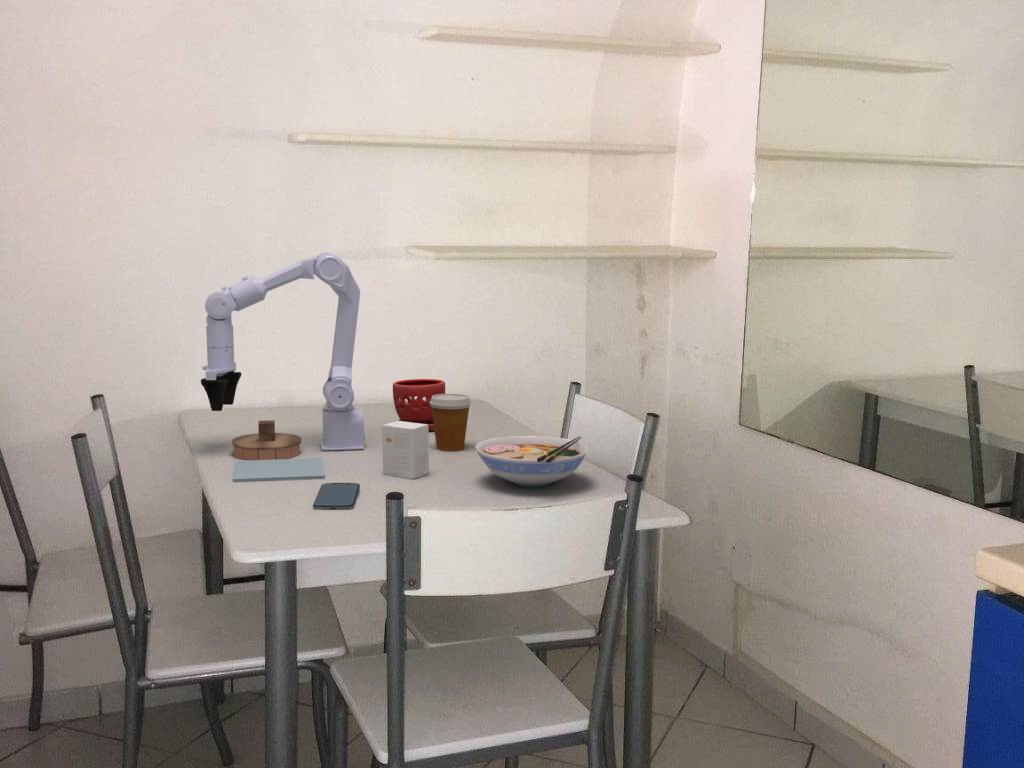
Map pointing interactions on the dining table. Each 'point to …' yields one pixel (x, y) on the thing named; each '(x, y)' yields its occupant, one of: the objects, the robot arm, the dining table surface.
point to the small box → (405, 449)
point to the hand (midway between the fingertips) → (222, 407)
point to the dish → (266, 453)
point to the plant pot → (417, 407)
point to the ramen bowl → (532, 458)
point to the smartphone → (337, 496)
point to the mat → (278, 469)
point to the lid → (266, 438)
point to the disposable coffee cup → (450, 420)
